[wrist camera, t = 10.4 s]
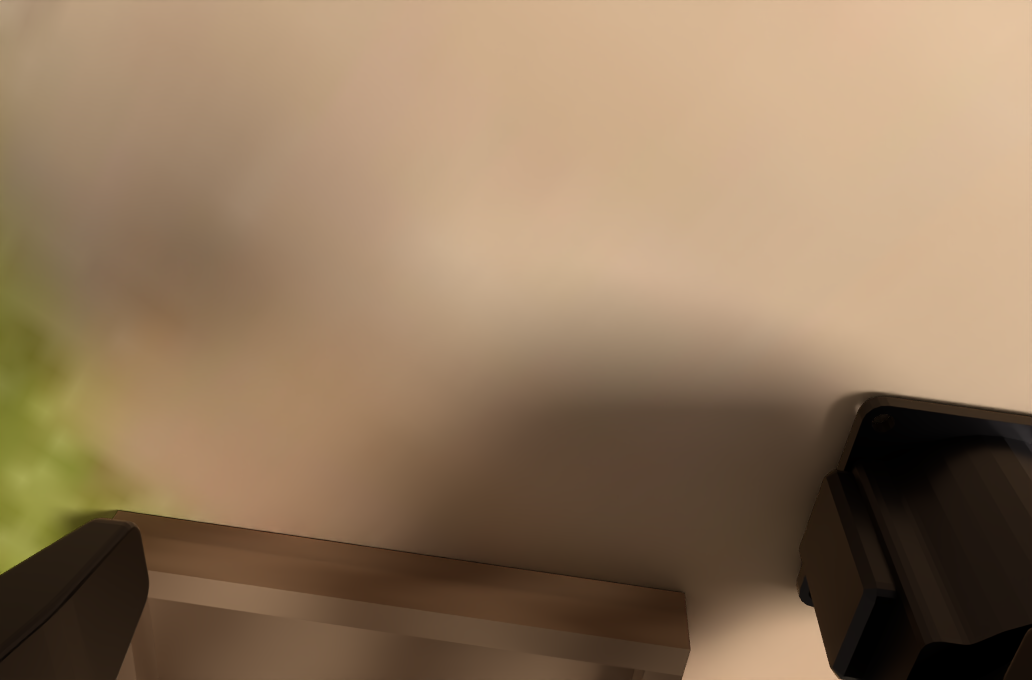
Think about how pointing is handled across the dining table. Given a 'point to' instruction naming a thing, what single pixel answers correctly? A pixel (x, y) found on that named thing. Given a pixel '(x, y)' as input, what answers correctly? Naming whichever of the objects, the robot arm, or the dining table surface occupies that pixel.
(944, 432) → the robot arm
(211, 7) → the dining table surface
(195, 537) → the walnut tray
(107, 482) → the dining table surface
